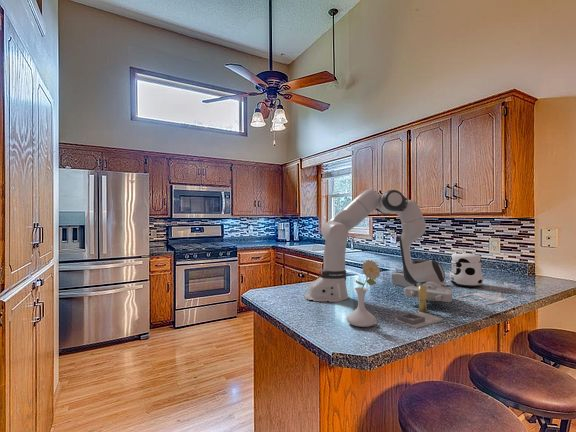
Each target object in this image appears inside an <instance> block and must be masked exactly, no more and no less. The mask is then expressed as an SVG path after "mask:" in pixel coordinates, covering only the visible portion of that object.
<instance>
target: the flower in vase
mask: <svg viewBox="0 0 576 432" xmlns="http://www.w3.org/2000/svg"><path fill="white" fill-rule="evenodd" d="M362 273H364V275H365V277H366V279H365V281H364V283H363V282H361V281H358V280H355V283H356V284H358V285H361V286H362V287H360V286H359V287H355V288H354V290H355V292H356V294H357V300H358V301H357V308H355V310H353V311H351V312H350V313H349V314H348V315H347V316H346V319H345V320H346V322H347V323H349V324H350V325H352V326H354V327H355V326H356V327H362V328H366V327H367V328H368V327H372V326H374V325H376V323H377V319H376V317H375V316H374V315H373V314H372V313H371V312H370V311H369V310H367V309H366V306H365V297H366V293H367V291H368V290H369V288H367V287H364V286H365V285H366V283H367V284H368V285H369V286H373V285H376V284H377V282H376V281H375V280H377V279H378V278H379V277H381V268H380V267H379V265H378V264H377V263H376V262H375V260H374V261H373V260H372V259H371V260H370V259H367V260H365V261H364V262H362Z"/></svg>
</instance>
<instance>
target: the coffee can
mask: <svg viewBox="0 0 576 432" xmlns="http://www.w3.org/2000/svg"><path fill="white" fill-rule="evenodd" d="M430 260H431V259H422V258H421V259H420V258H417V259H412V263H413V264H417V263H421V262H425V261H430ZM426 282H427V281H426ZM426 282H420V283H417V284H418V285H421V286H422V285H423V284H425V283H426Z"/></svg>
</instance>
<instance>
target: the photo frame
mask: <svg viewBox="0 0 576 432" xmlns="http://www.w3.org/2000/svg"><path fill="white" fill-rule="evenodd" d="M471 295H472V296H474V297H478V296H479V297H478V298H482V297H483V299H486V298H487V299H488V300H491V302H487V303H483V302H479V301H474V300H470V299H466V297H470V296H471ZM457 298H458V300H461V299H462V300H461V301H465V300H466V301H465V302H469V301H470V303H473V302H474V304H477V303H478V305H481V304H482V306H489V305H493V303H494V304H499V303H502V302H507V301H508V299H506V298H503V297H499V296H494V295H489V294H485V293H480V292H476V293H470V294H465V295H459V296H455V299H457ZM488 304H489V305H488Z"/></svg>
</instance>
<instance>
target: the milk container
mask: <svg viewBox="0 0 576 432" xmlns="http://www.w3.org/2000/svg"><path fill="white" fill-rule="evenodd" d="M450 260H451V261H450V263H451V264H450V266H451V267H450V272H449V279H450V283H452V284H453V285H455V286H460V287H466V288H467V287H469V288H471V287H473V288H475V287H480V286H482V285H483V283H484V275H483V273H482V256H481V255H479V254H473V253H453V254H451V258H450Z"/></svg>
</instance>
